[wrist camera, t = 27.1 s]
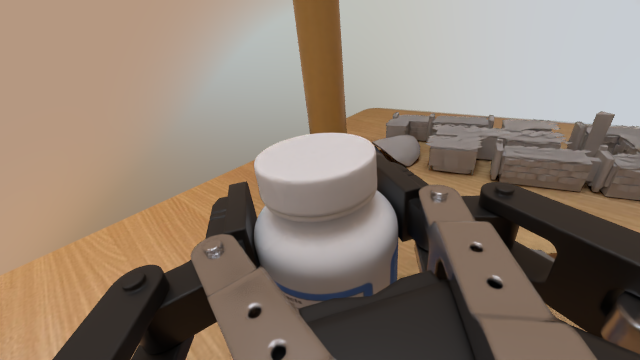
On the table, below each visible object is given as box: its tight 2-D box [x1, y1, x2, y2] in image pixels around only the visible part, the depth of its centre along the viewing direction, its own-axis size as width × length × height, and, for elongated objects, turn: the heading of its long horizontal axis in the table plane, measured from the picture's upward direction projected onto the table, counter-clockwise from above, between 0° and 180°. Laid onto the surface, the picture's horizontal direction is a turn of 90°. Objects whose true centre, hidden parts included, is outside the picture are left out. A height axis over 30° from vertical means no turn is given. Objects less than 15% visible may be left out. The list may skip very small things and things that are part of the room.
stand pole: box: [293, 0, 347, 134], centre depth 19 cm, size 3×3×27 cm
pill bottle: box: [254, 133, 398, 313], centre depth 11 cm, size 6×5×10 cm
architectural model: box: [372, 112, 640, 200], centre depth 27 cm, size 12×25×5 cm, turn 61°
